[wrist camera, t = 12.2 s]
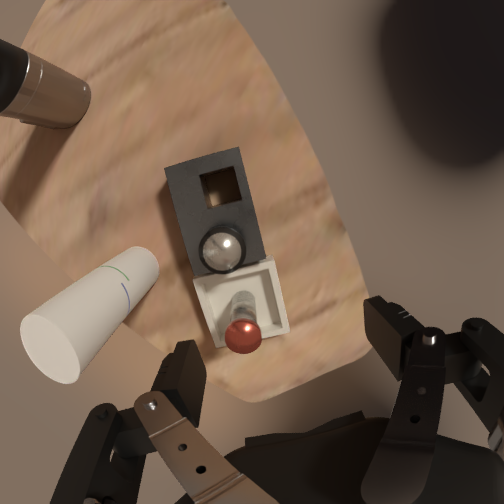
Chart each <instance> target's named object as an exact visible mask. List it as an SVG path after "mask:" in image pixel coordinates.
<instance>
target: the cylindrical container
mask: <svg viewBox="0 0 504 504" xmlns="http://www.w3.org/2000/svg"><path fill="white" fill-rule="evenodd" d="M158 276H159V265H158V262H157V260H156V258H155V256H154V255H153V254H152V253H151V252H150V251H149V250H147V249H145V248H143V247H137V246H136V247H131V248H129V249H127V250H125V251H124V252H122V253H120V254H119V255H117V256H115V257H114V258H112V259H111V260H109V261H107V262H106V263H104V264H103V265H101V266H99V267H98V268H96V269H95V270H93V271H91V272H90V273H88V274H87V275H85V276H84V277H82V278H81V279H79V280H78V281H76V282H75V283H73V284H72V285H70V286H69V287H67V288H66V289H64V290H63V291H62V292H60V293H58V294H57V295H55V296H54V297H52V298H51V299H50V300H48V301H47V302H45V303H44V304H42V305H41V306H40V307H38V308H37V309H35V310H34V311H33V312H31V313H30V314H29V315H27V316H26V317H24V319H23V320H22V322H21V327H20V334H21V339H22V343H23V346H24V348H25V350H26V352H27V354H28V356H29V357H30V358H31V360H32V362H33V363H34V364H35V365H36V366H37V367H38V369H39V370H41V371H42V372H43V373H44V374H45V375H46V376H48V377H49V378H51V379H53V380H54V381H57V382H59V383H64V384H70V383H73V382H75V381H76V380H77V379H78V378H79V376H80V375H81V374H82V372H83V371H84V370H85V368H86V367H87V366H88V365H89V363H90V362H91V361H92V359H93V358H94V357H95V355H96V354H97V353H98V352H99V350H100V349H101V348H102V347H103V345H104V344H105V343H106V341H107V340H108V339H109V338H110V336H111V335H112V334H113V333H114V331H115V330H116V329H117V328H118V326H119V325H120V324H121V323H122V322H123V320H124V319H125V318H126V317H127V315H128V314H129V313H130V312H131V311H132V309H133V308H134V307H135V306H136V305H137V303H138V302H139V301H140V300H141V299H142V298H143V296H144V295H145V294H146V293H147V292H148V291H149V289H150V288H151V287H152V286H153V285H154V283H155V282H156V281H157V279H158Z"/></svg>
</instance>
